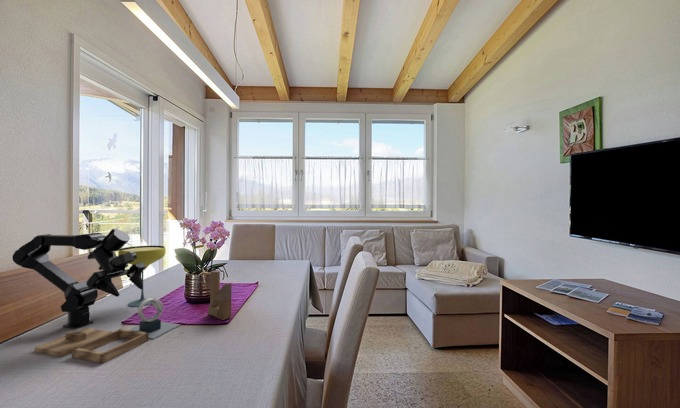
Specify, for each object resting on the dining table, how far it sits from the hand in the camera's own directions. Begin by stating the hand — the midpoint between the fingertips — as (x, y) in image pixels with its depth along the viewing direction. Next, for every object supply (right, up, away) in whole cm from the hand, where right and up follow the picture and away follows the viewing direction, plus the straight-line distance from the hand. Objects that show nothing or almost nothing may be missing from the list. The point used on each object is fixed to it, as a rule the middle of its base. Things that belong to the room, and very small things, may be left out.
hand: (130, 292), depth 109 cm
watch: (+7, -13, 0) cm, 15 cm away
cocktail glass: (-15, -13, +29) cm, 35 cm away
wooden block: (+27, -14, +14) cm, 33 cm away
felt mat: (+8, -14, 0) cm, 16 cm away
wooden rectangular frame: (+4, -14, -14) cm, 20 cm away
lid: (-11, -14, -11) cm, 20 cm away
